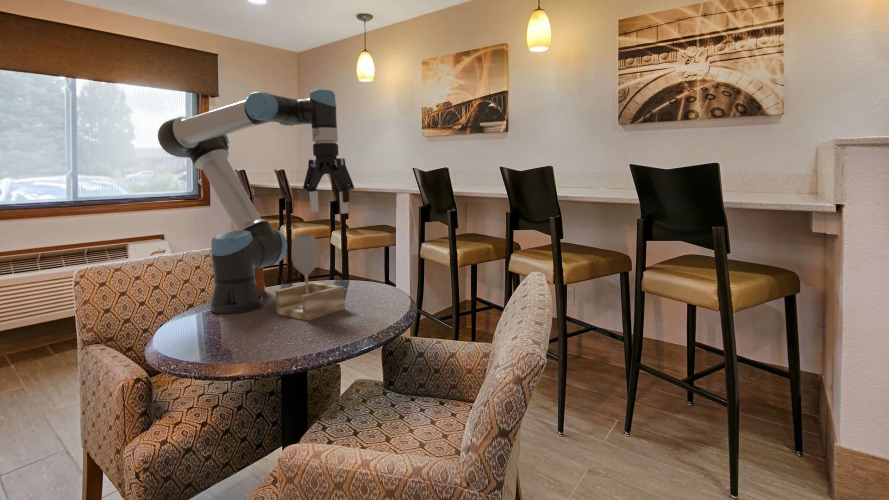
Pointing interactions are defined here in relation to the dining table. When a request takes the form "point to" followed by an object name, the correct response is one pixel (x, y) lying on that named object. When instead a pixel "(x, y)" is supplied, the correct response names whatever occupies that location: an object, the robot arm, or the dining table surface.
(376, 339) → the dining table surface
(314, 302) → the tan wooden open box
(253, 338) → the dining table surface
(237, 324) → the dining table surface
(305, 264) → the wineglass
